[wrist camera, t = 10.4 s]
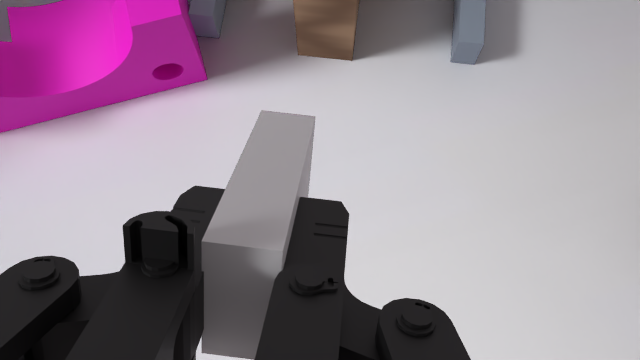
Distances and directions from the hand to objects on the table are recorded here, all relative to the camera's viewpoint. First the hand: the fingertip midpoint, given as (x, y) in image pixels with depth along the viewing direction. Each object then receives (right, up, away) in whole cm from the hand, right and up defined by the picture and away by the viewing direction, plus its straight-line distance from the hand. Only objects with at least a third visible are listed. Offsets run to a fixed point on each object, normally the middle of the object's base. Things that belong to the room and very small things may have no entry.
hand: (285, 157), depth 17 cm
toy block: (-14, +7, +22) cm, 27 cm away
